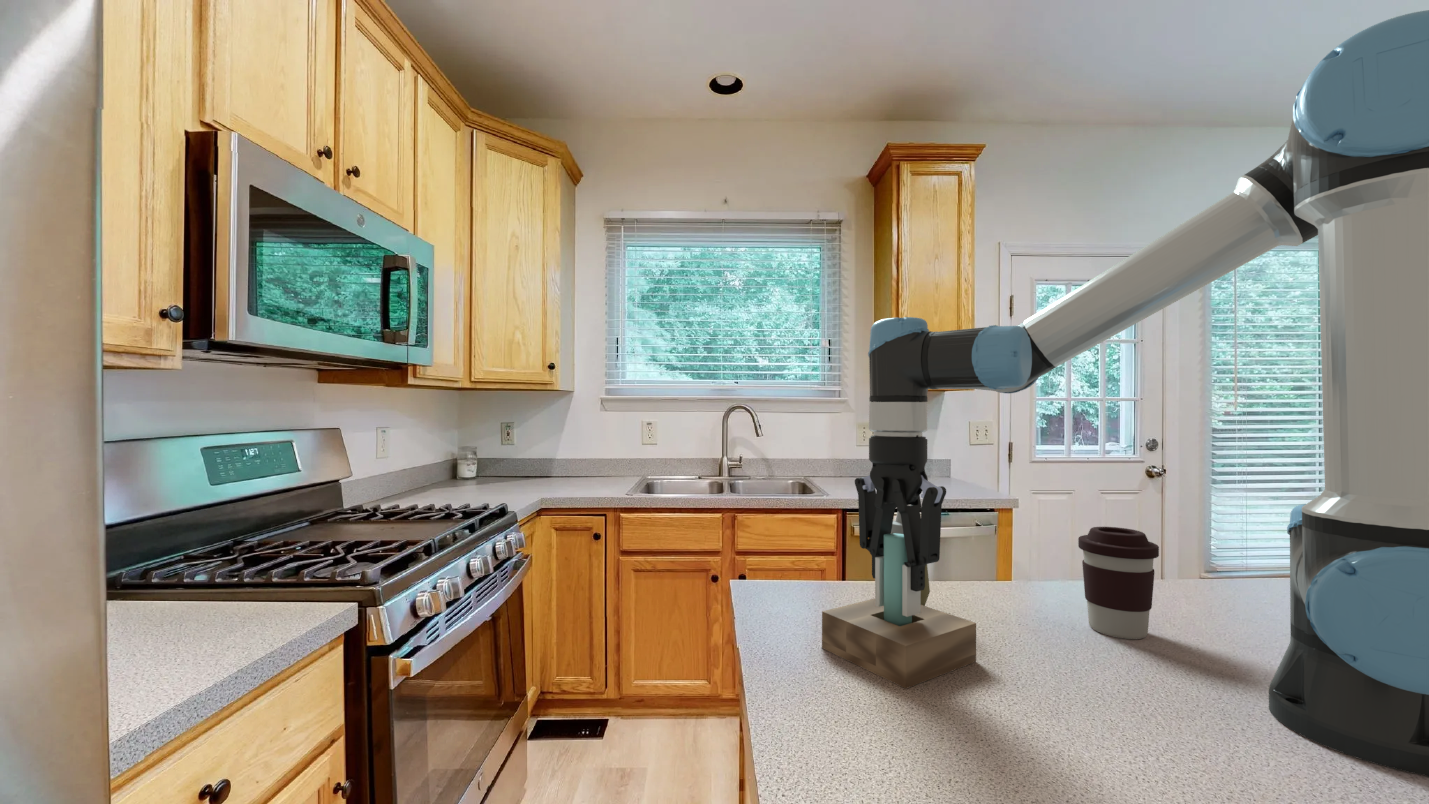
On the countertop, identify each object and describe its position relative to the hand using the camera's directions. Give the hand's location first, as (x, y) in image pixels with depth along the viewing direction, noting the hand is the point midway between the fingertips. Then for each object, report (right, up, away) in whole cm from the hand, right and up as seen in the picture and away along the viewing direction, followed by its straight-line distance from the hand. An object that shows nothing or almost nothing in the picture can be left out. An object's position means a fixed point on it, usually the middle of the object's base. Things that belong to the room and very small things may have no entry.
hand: (897, 608), depth 79 cm
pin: (0, -4, 0) cm, 4 cm away
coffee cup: (+36, -7, +9) cm, 38 cm away
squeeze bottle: (+6, -7, +17) cm, 20 cm away
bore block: (0, -6, 0) cm, 6 cm away
